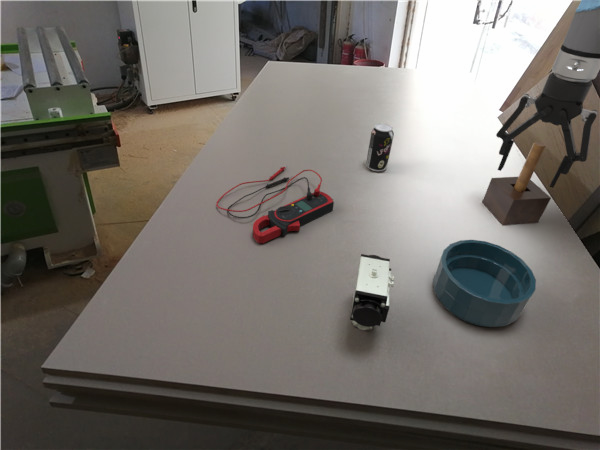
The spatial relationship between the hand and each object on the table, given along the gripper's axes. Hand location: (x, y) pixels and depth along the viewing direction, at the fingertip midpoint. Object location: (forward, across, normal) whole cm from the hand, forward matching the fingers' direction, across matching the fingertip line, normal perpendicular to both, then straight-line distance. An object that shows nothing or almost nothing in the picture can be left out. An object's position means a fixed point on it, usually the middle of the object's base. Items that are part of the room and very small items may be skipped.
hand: (525, 176), depth 91 cm
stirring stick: (+10, 0, 0) cm, 10 cm away
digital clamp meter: (+10, -45, -32) cm, 57 cm away
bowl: (+10, +1, -32) cm, 34 cm away
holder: (+10, 0, 0) cm, 10 cm away
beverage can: (+10, -35, -2) cm, 36 cm away
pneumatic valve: (+10, -12, -50) cm, 53 cm away
